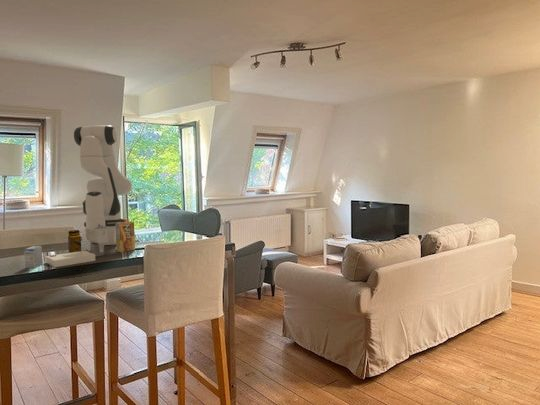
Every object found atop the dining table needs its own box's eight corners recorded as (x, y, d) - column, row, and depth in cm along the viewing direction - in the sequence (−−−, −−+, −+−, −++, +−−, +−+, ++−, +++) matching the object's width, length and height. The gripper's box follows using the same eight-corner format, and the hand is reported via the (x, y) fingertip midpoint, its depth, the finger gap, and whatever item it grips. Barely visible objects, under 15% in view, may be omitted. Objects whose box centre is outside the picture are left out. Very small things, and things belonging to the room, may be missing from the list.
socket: (85, 256, 214) (84, 249, 214) (95, 260, 204) (95, 253, 204) (45, 262, 202) (45, 255, 202) (55, 267, 192) (54, 259, 192)
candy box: (131, 248, 232) (129, 221, 231) (135, 249, 230) (134, 221, 229) (116, 251, 226) (114, 222, 224) (121, 252, 223) (119, 223, 222)
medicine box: (33, 264, 199) (31, 246, 198) (43, 264, 199) (41, 245, 199) (24, 268, 191) (23, 249, 190) (35, 268, 191) (34, 248, 191)
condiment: (83, 253, 223) (82, 230, 222) (65, 255, 219) (64, 232, 218) (80, 251, 229) (79, 229, 228) (63, 253, 225) (62, 230, 224)
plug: (100, 253, 221) (100, 241, 221) (104, 255, 217) (103, 243, 217) (91, 255, 218) (90, 243, 217) (94, 256, 214) (94, 244, 214)
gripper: (110, 224, 211) (111, 252, 212) (94, 221, 226) (96, 247, 227) (97, 226, 207) (99, 254, 208) (82, 223, 222) (84, 249, 223)
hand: (97, 250), depth 217 cm, fingers open, 8 cm apart
